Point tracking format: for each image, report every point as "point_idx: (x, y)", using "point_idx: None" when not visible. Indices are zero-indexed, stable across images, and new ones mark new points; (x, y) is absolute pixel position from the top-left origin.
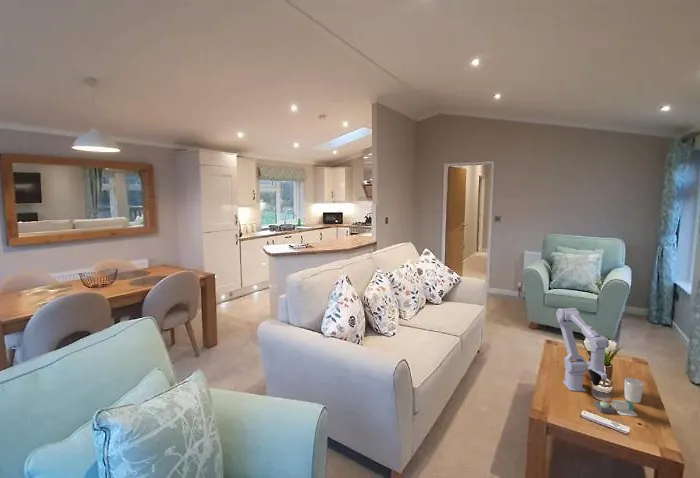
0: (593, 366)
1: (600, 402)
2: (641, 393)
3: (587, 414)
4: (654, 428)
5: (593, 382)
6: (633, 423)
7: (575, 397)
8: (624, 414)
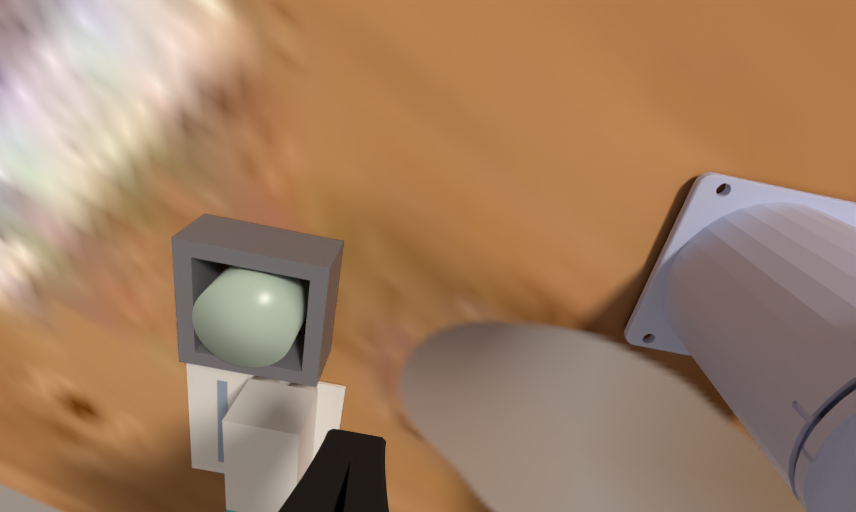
0: None
1: (263, 297)
2: None
3: (137, 11)
4: (41, 456)
5: (315, 474)
6: (71, 370)
7: (536, 131)
8: (195, 394)
